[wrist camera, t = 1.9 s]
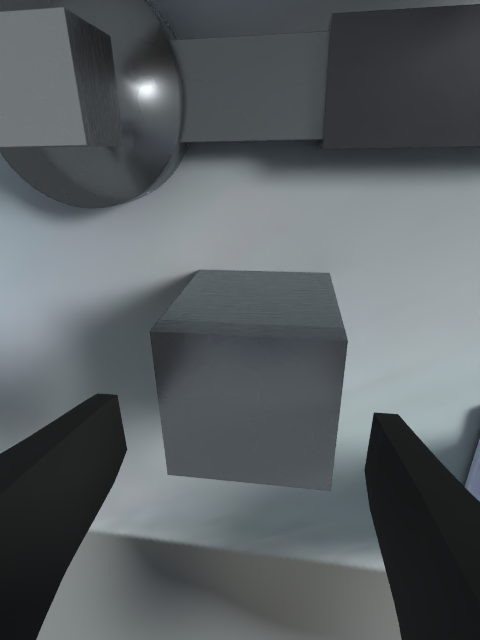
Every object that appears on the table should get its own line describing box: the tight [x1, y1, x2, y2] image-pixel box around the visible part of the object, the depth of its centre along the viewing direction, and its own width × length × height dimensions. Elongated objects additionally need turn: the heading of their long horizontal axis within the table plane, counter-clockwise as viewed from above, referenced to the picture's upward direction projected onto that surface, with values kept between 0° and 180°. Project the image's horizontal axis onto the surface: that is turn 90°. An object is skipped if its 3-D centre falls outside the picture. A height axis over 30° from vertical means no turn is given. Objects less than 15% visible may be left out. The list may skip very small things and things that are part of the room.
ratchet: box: [0, 0, 480, 208], centre depth 11 cm, size 20×7×4 cm, turn 90°
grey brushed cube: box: [150, 270, 348, 491], centre depth 14 cm, size 5×5×6 cm
